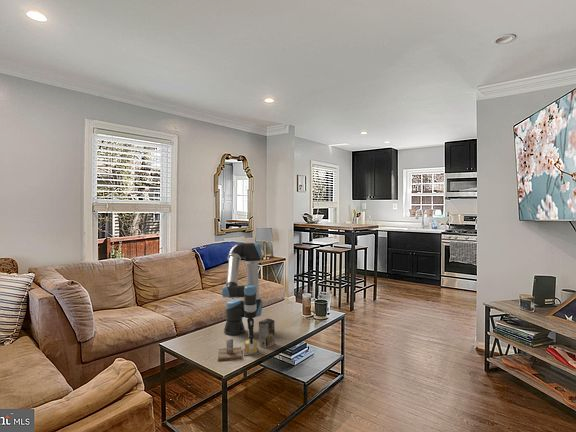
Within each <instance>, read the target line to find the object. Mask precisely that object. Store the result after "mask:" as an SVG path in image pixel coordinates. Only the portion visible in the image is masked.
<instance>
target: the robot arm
mask: <svg viewBox="0 0 576 432" xmlns="http://www.w3.org/2000/svg"><path fill="white" fill-rule="evenodd" d="M261 246H262V245H261V244H260V243H259V242H240V243H239V242H238V243H237V244H235V245H233V246H232V247H231V248H230V250H229V252H228V253H227V261H228V265H227V275H226V282H225V283H226V284H225V285H223V286H222V288H221V294H222V298H226V299H227V298H229V300H228V301H227V302H226V304H225V312H226V313H225V314H226V315H225V318H226V319H225V320H226V321H225V324H224V328H223V333H224V334H225V335H227V336H239V335H241V334H244V333H245V331H246V327H245V324H244V322H243V318H246V320H247V340H249V349H253V348H254V340H255V339H254V338H255V336H254V328H255V324H254V323H255V320H254V318H258V317H261V315H262V312H263V311H262V310H263V304H264V303H263V300H262V298H261V297H260V295H259V294H260V292H259V291H260V290H259V289H260V288H259V287H260V285H259V282H260V280H259V278H260V277H259V263H260V262H261V259H263V255H262V253H263V252H262V247H261ZM242 259H244V263H245V264H246V285H245V284H244V285H239V284H238V282H239V270H240V269H239V268H240V262H241V260H242ZM230 298H231V299H230ZM243 298H244V299H243Z"/></svg>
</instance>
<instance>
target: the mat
mask: <svg viewBox="0 0 576 432" xmlns="http://www.w3.org/2000/svg"><path fill="white" fill-rule="evenodd" d="M259 354H260V353H259V349H258V346H257V352H255V353H253V354H248V353H245V347H244V348H243V357H249V356H259Z"/></svg>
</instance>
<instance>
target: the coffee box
mask: <svg viewBox="0 0 576 432" xmlns="http://www.w3.org/2000/svg"><path fill="white" fill-rule="evenodd" d="M275 330H276V329H275V320H274V319H272V318H266V319H265V318H264V319H262V320H260V321H259V322H258V341H259V342H258V346H259V347H260V348H264V349H267V348H269V347H272V346H273V345H275V344H276V340H275V339H276V337H275V336H276V334H275Z"/></svg>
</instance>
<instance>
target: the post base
mask: <svg viewBox="0 0 576 432" xmlns="http://www.w3.org/2000/svg"><path fill="white" fill-rule="evenodd" d="M242 359H243V355H242V347H241V346H238V347H234V339H233V338H227V339H226V348H219V349H218V355H217V362H222V361H236V360H242Z"/></svg>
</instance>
